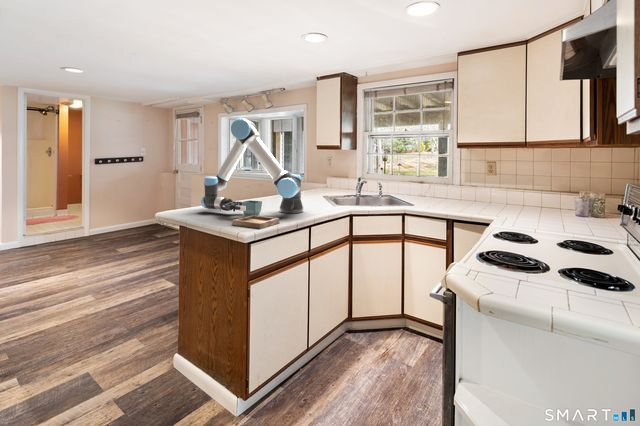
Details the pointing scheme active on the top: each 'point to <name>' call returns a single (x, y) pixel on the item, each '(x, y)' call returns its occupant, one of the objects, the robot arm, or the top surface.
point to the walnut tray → (255, 221)
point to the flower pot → (252, 207)
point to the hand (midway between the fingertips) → (253, 207)
